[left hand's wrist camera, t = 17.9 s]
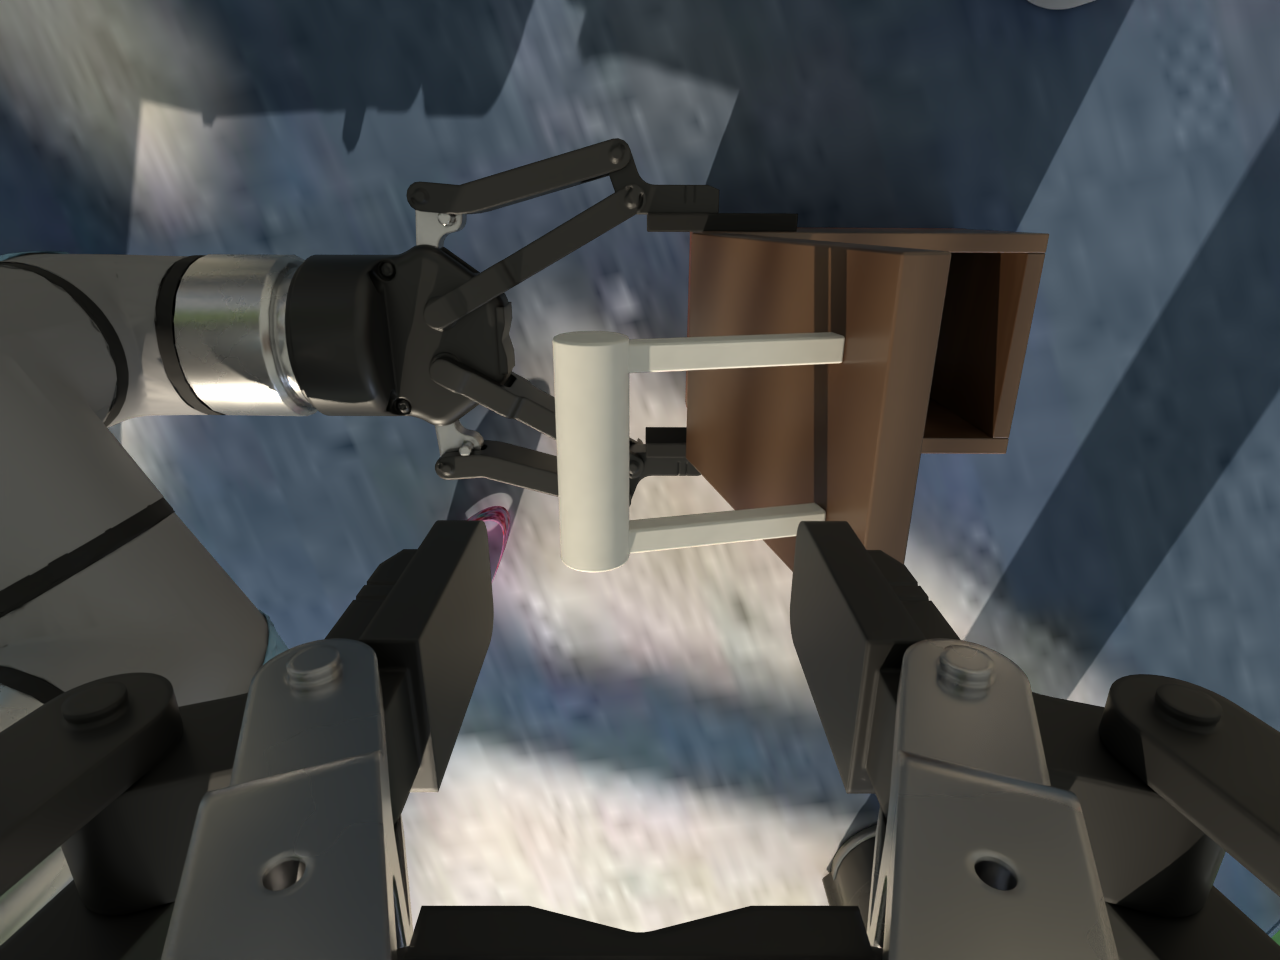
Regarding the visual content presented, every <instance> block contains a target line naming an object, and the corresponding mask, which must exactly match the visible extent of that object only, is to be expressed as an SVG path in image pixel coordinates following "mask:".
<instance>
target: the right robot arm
mask: <svg viewBox="0 0 1280 960" xmlns="http://www.w3.org/2000/svg"><path fill="white" fill-rule="evenodd" d="M606 176H610V179H611V182H612V184H613V187H614V190H615V193H613V194H612V195H610V196H608V197H607V198H605V199H603V200H602V201H600V202H598V203H597V204H595V205H594V206H592V207H590V208H589V209H587V210H585V211H584V212H582V213H580V214H579V215H577V216H575V217H574V218H572V219H570V220H569V221H567V222H565V223H564V224H562V225H560V226H559V227H557V228H555V229H554V230H552V231H550V232H549V233H547V234H545V235H544V236H542V237H540V238H539V239H537V240H535V241H534V242H532V243H530V244H529V245H527V246H525V247H524V248H522V249H520V250H519V251H517V252H515V253H514V254H512V255H510V256H509V257H507V258H505V259H504V260H502V261H500V262H498V263H496V264H495V265H493V266H491V267H490V268H488V269H486V270H485V271H483V272H481V273H480V272H478V271H477V270H476V269H474V268H473V267H471V266H470V265H469V264H467V263H466V262H464V261H463V260H462V259H460V258H459V257H457V256H456V255H455V254H453V253H452V252H450V251H449V250H448V249H446V248H445V247H443V244H444V240H445V238H446V236H447V235H448V234H450V233H453V232H458V231H460V230H462V229H463V228H464V227H465V224H466V220H467V214H476V213H483V212H488V211H492V210H495V209H498V208H502V207H505V206H509V205H512V204H515V203H519V202H522V201H525V200H529V199H532V198H535V197H539V196H542V195H546V194H549V193H552V192H556V191H559V190H562V189H566V188H569V187H572V186H576V185H579V184H583V183H586V182H589V181H593V180H596V179H599V178H603V177H606ZM407 200H408V202H409V204H410V206H411V207H412V208H414V209H415V210H416V244H417V246H414V247H412V248H411V249H409V250H408V251H406V252H404V253H402V254H399V255H313V256H310V257H309V258H307V259H306V260H303V259H301V258H299V257H298V256H296V255H225V254H208V255H193V256H189V257H187V256H151V255H115V254H69V253H67V252H55V251H34V252H19V253H10V254H4V255H0V732H2V731H3V730H5V729H6V728H8V727H9V726H11V725H12V724H14V723H16V722H17V721H19V720H20V719H22V718H23V717H25V716H26V715H28V714H29V713H31V712H33V711H34V710H36V709H37V708H39V707H40V706H42V705H43V704H45V703H47V702H48V701H50V700H52V699H53V698H55V697H57V696H58V695H60V694H62V693H64V692H66V691H68V690H71V689H73V688H75V687H78V686H80V685H83V684H85V683H88V682H91V681H94V680H97V679H101V678H105V677H108V676H113V675H118V674H125V673H139V672H144V673H153V674H158V675H161V676H163V677H165V678H167V679H168V680H169V681H170V682H171V684H172V686H173V689H174V693H175V696H176V700H177V704H178V707H180V706H185V705H190V704H195V703H201V702H206V701H211V700H216V699H221V698H226V697H231V696H236V695H240V694H245V693H248V691H249V687H250V683H251V680H252V678H253V676H254V675H255V673H256V672H257V671H258V670H259V669H260V667H261V666H262V665H264V664H265V663H266V662H267V661H269V660H270V659H272V658H273V657H275V656H276V655H278V654H280V653H282V652H284V651H286V650H288V648H287V646H286V645H285V643H284V642H283V641H282V639H281V638H280V636H279V635H278V633H277V632H276V630H275V627H274V624H273V623H272V622H271V621H270V618H269V616H267V615H266V614H264V613H263V612H262V611H261V610H258V609H257V608H256V607H255V606H254V604H253V603H252V602H251V601H250V600H249V599H248V597H247V596H246V595H245V594H244V593H243V592H242V590H241V589H240V588H239V587H238V586H237V585H236V583H235V582H234V581H233V580H232V579H231V578H230V576H229V575H228V574H227V573H226V572H225V571H224V569H223V568H222V567H221V566H220V565H219V564H218V563H217V561H216V560H215V559H214V558H213V557H212V556H211V554H210V553H209V552H208V551H207V550H206V549H205V547H204V546H203V545H202V544H201V543H200V542H199V540H198V539H197V538H196V537H195V536H194V535H193V533H192V532H191V531H190V530H189V529H188V528H187V526H186V525H185V524H184V523H183V522H182V521H181V519H180V518H179V517H178V516H177V515H176V514H175V513H174V512H175V511H173V508H172V507H171V506H170V505H169V503H168V502H167V501H166V500H165V499H164V498H163V497H164V496H163V495H162V494H161V493H160V492H159V490H158V489H157V488H156V487H155V485H154V484H153V483H152V482H151V481H150V479H149V478H148V477H147V476H146V475H145V473H144V472H143V471H142V470H141V468H140V467H139V466H138V465H137V464H136V462H135V461H134V460H133V459H132V457H131V456H130V455H129V454H128V453H127V451H126V450H125V449H124V448H123V446H122V445H121V444H120V443H119V442H118V440H117V439H116V438H115V437H114V435H113V434H112V433H111V432H110V431H109V429H108V427H110V426H113V425H115V424H118V423H120V422H123V421H125V420H128V419H131V418H135V417H142V416H152V415H270V416H309V415H311V414H314V413H315V412H317V411H319V412H321V413H323V414H325V415H328V416H414V417H417V418H420V419H423V420H425V421H427V422H429V423H431V424H433V425H435V428H436V434H437V439H438V445H439V450H440V458H439V459H438V461H437V462H436V464H435V470H436V473H437V474H438V475H439V476H440V477H441V478H443V479H446V480H454V479H468V478H482V477H483V478H487V479H491V480H495V481H498V482H502V483H506V484H510V485H514V486H518V487H522V488H526V489H530V490H534V491H538V492H541V493H545V494H549V495H553V496H557V497H559V494H558V468H557V456H554V455H550V454H546V453H542V452H539V451H535V450H531V449H527V448H523V447H519V446H516V445H512V444H508V443H504V442H499V441H490V440H483V437H482V436H481V434H480V433H478V432H477V431H473V430H468V429H466V428H464V427H463V426H462V425H461V423H460V421H459V419H460V418H461V417H463V416H464V415H465V414H467V413H468V412H469V411H471V410H472V409H473V408H475V407H476V406H478V405H479V404H480V405H482V406H484V407H486V408H488V409H490V410H492V411H494V412H496V413H498V414H500V415H501V416H504V417H506V418H513V419H516V420H518V421H520V422H522V423H524V424H526V425H528V426H530V427H532V428H534V429H535V430H537V431H539V432H541V433H543V434H545V435H547V436H549V437H551V438H553V439H555V440H556V416H555V397H553V396H551V395H549V394H547V393H545V392H543V391H542V390H540V389H538V388H536V387H534V386H533V385H532V384H531V383H530V382H529V381H528V380H526V379H525V378H523V377H521V376H519V375H517V374H515V373H514V372H512V368H513V367H514V366H515V357H514V348H513V345H512V342H511V339H510V336H509V331H510V326H511V321H512V306H511V302H508V299H507V297H506V295H505V293H504V292H505V291H507V290H509V289H511V288H512V287H514V286H516V285H517V284H519V283H521V282H522V281H524V280H526V279H527V278H529V277H531V276H532V275H534V274H536V273H538V272H539V271H541V270H543V269H544V268H546V267H548V266H549V265H551V264H553V263H554V262H556V261H558V260H559V259H561V258H563V257H565V256H566V255H568V254H570V253H571V252H573V251H575V250H576V249H578V248H580V247H581V246H583V245H585V244H587V243H588V242H590V241H592V240H593V239H595V238H597V237H598V236H600V235H602V234H603V233H605V232H607V231H608V230H610V229H612V228H614V227H615V226H617V225H619V224H620V223H622V222H624V221H625V220H627V219H629V218H630V217H632V216H634V215H635V214H647V231H648V232H703V231H787V232H797V219H798V214H773V213H718V210H719V190H718V189H716V188H714V187H711V186H709V185H652V184H648V183H646V182H645V181H643V180H642V178H641V177H640V176H639V174H638V172H637V169H636V166H635V163H634V160H633V157H632V154H631V150H630V148H629V146H628V144H627V143H626V142H625V141H624V140H621V139H619V138H617V139H611V140H607V141H604V142H601V143H597V144H594V145H591V146H587V147H584V148H581V149H578V150H574V151H571V152H568V153H564V154H561V155H558V156H554V157H551V158H548V159H544V160H541V161H538V162H534V163H531V164H528V165H525V166H521V167H518V168H515V169H511V170H508V171H505V172H501V173H498V174H495V175H491V176H488V177H485V178H481V179H478V180H475V181H472V182H468V183H465V184H462V185H452V184H440V183H429V182H415V183H413V184H412V185H410V187H409V188H408V190H407ZM686 435H687V427H646V444H643V442H642V441H641V440H640V439H639V438H638V440H637V441H635V440H633V439H631V438H629V507H630V505H631V499H632V496H633V494H634V491H635V489H636V486H637V484H638V482H639V481H640V480H641V479H642V478H644V477H647V476H677V475H679V476H686V475H687V476H699V475H701V473H700V472H699V471H698V470H697V469H696V468H695V467H694V466H693V465H692V464H691V463H690V462H689V461H688V460H687V459H686ZM72 880H73V877H72V874H71V872H70V869H69V866H68V864H67V861H66V859H65V856H64V853H63V851H62V848H61V846H60V847H58V848H57V849H56V850H55V851H54V852H53V853H51V854H50V855H49V856H48V857H47V858H45V859H44V860H43V861H42V862H41V863H40V864H38V865H37V866H36V867H35V868H34V869H32V870H31V871H30V872H29V873H28V874H27V875H25V876H24V877H23V878H22V879H21V880H19V881H18V882H17V883H16V884H15V885H14V886H12V887H11V888H10V889H9V890H8V891H6V892H5V893H4V894H3V895H2V896H1V897H0V946H1V945H2V944H3V943H4V942H5V941H6V940H7V939H8V938H10V937H11V936H12V935H13V934H14V933H15V932H16V931H17V930H18V929H19V928H21V927H22V926H23V925H24V924H25V923H26V922H27V921H28V920H29V919H31V918H32V917H33V916H34V915H35V914H36V913H37V912H38V911H39V910H40V909H42V908H43V907H44V906H45V905H46V904H47V903H48V902H49V901H50V900H51V899H53V898H54V897H55V896H56V895H57V894H58V893H59V892H60V891H61V890H62V889H64V888H65V887H66V886H67V885H68V884H69V883H70V882H71V881H72Z"/></svg>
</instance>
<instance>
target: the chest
mask: <svg viewBox="0 0 1280 960" xmlns="http://www.w3.org/2000/svg"><path fill="white" fill-rule="evenodd" d="M703 232H722V233H734V234H746V235H758V236H770V237H782V238H794V239H806V240H818V241H830V242H842V243H854V244H866V245H878V246H890V247H902V248H914V249H926V250H938V251H948V252H950V253H951V261H950V267H949V274H948V280H947V287H946V293H945V300H944V306H943V313H942V319H941V326H940V332H939V339H938V345H937V352H936V358H935V365H934V372H933V378H932V385H931V391H930V398H929V404H928V411H927V417H926V424H925V430H924V437H923V443H922V450H921V453H950V454H1005V453H1006V450H1007V445H1008V438H1009V434H1010V429H1011V424H1012V419H1013V414H1014V409H1015V404H1016V399H1017V394H1018V389H1019V383H1020V378H1021V373H1022V368H1023V363H1024V358H1025V353H1026V348H1027V343H1028V338H1029V333H1030V328H1031V323H1032V318H1033V313H1034V308H1035V303H1036V298H1037V293H1038V288H1039V283H1040V277H1041V272H1042V267H1043V262H1044V257H1045V252H1046V248H1047V243H1048V238H1049V234H1044V233H1026V232H1008V231H990V230H972V229H958V228H797V232H787V231H703ZM693 233H694V232H690V256H689V291H688V326H687V337H689V334H690V300H691V266H692V234H693ZM687 401H688V370H686V396H685V402H686V407H687Z"/></svg>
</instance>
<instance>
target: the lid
mask: <svg viewBox="0 0 1280 960" xmlns="http://www.w3.org/2000/svg"><path fill="white" fill-rule="evenodd" d="M950 261H951V253H950V252H948V251H938V250H926V249H914V248H902V247H890V246H878V245H866V244H854V243H842V242H830V241H818V240H806V239H794V238H782V237H770V236H758V235H746V234H734V233H722V232H694V233H693V234H692V266H691V300H690V334H689V337H684V338H657V339H629V338H628V337H627V336H626V335H623V334H620V333H615V332H605V331H579V332H569V333H563V334H560V335H557V336H555V337H554V338H553V364H554V390H555V416H556V442H557V468H558V494H559V520H560V546H561V559H562V561H563V563H564V564H565V565H566V566H568V567H570V568H572V569H574V570H578V571H582V572H605V571H610V570H613V569H616V568H618V567H621V566H622V565H624V564H625V563H626V562H627V560H628V558H629V554H630V553H640V552H649V551H659V550H668V549H677V548H687V547H696V546H706V545H715V544H725V543H734V542H743V541H753V540H763V541H764V542H765V543H766V544H767V545H768V546H769V547H770V548H771V549H772V550H773V551H774V552H775V553H776V555H777V556H778V557H779V558H780V559H781V560H782V561H783V562H784V563H785V564H786V565H787V566H788V567H789V568H790V569H791V571H792V572H793V567H794V556H795V544H796V534H797V529H798V525H799V523H800V522H801V521H847V522H848V523H849V524H850V526H851V527H852V529H853V530H854V532H855V533H856V535H857V536H858V538H859V539H860V541H861V542H862V544H863V545H864V547H865V548H866V550H881V551H883V552H884V553H886V554H888V555H889V556H891V557H893V558H894V559H896V560H897V561H899V562H901V563H902V564H904V561H905V554H906V547H907V541H908V534H909V528H910V521H911V515H912V508H913V502H914V495H915V489H916V482H917V476H918V469H919V463H920V456H921V450H922V443H923V437H924V430H925V424H926V417H927V411H928V404H929V398H930V391H931V385H932V378H933V372H934V365H935V358H936V352H937V345H938V339H939V332H940V326H941V319H942V313H943V306H944V300H945V293H946V287H947V280H948V274H949V267H950ZM684 370H688V401H687V435H686V459H687V460H688V461H689V462H690V463H691V464H692V465H693V466H694V467H695V468H696V469H697V470H698V471H699V472H700V473H701V475H702V476H703V477H704V478H705V479H706V480H707V481H708V482H709V483H710V484H711V485H712V486H713V487H714V488H715V489H716V491H717V492H718V493H719V494H720V495H721V496H722V497H723V498H724V499H725V500H726V501H727V502H728V503H729V504H730V505H731V507H732V508H733V509H734V510H735V511H724V512H714V513H703V514H693V515H682V516H672V517H661V518H651V519H640V520H630V521H629V373H641V372H663V371H684Z"/></svg>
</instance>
